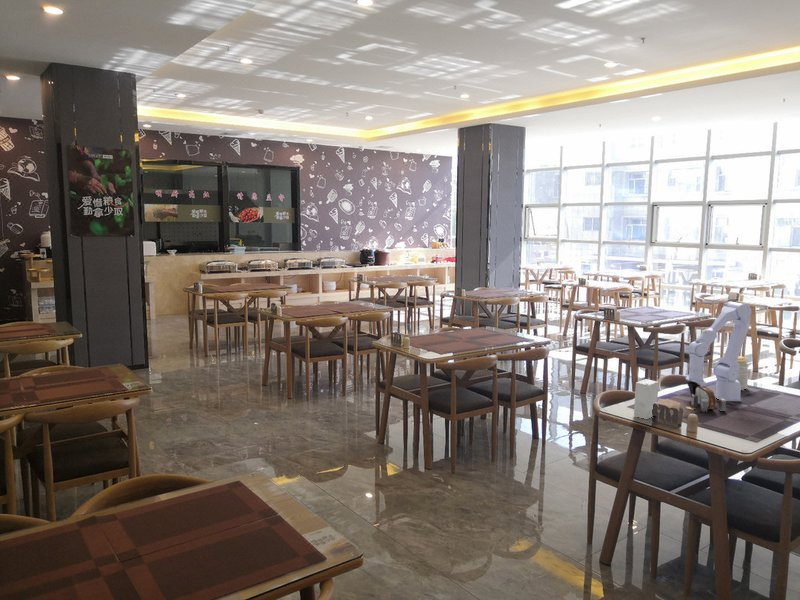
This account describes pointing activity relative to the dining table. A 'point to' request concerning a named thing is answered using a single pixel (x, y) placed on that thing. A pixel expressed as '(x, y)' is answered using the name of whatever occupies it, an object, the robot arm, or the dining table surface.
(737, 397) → the robot arm
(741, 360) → the jar
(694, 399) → the collar
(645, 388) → the skincare box
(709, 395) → the bread slice
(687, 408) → the brass mark
